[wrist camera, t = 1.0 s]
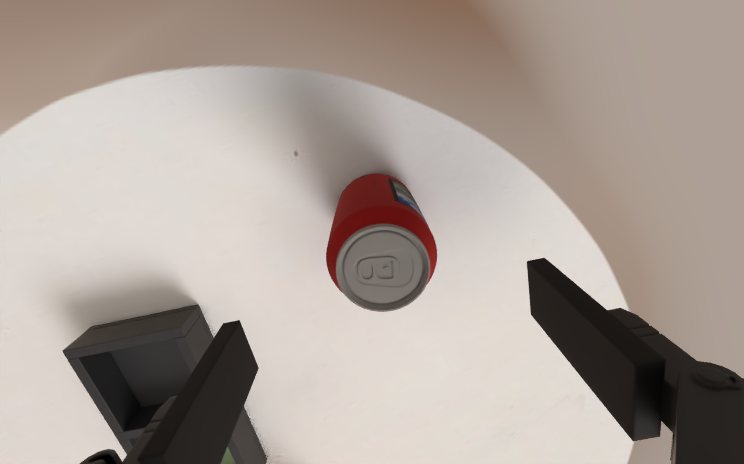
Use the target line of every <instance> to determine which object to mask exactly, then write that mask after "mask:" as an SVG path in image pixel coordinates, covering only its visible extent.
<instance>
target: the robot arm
mask: <svg viewBox="0 0 744 464" xmlns="http://www.w3.org/2000/svg"><path fill="white" fill-rule="evenodd" d="M527 269H528V282H529V295H530V308H531V315H532V316H533V318H534V319H535V320H536V321H537V322H538V324H539V325H540V326H541V327H542V329H543V330H544V331H545V332H546V334H547V335H548V336H549V337H550V339H551V340H552V341H553V342H554V344H555V345H556V346H557V347H558V349H559V350H560V351H561V352H562V354H563V355H564V356H565V357H566V359H567V360H568V361H569V362H570V364H571V365H572V366H573V367H574V368H575V370H576V371H577V372H578V373H579V375H580V376H581V377H582V378H583V380H584V381H585V382H586V383H587V385H588V386H589V387H590V388H591V390H592V391H593V392H594V393H595V395H596V396H597V397H598V398H599V400H600V401H601V402H602V403H603V405H604V406H605V407H606V408H607V409H608V411H609V412H610V413H611V414H612V416H613V417H614V418H615V419H616V421H617V422H618V423H619V424H620V426H621V427H622V428H623V429H624V431H625V432H626V433H627V434H628V436H629V437H630V438H631V439H632V441H637V440H643V439H648V438H654V437H659V436H660V430H661V421H662V422H663V423H664V424H665V425H666V426H667V427H668V428H669V429H670V430H671V431H672V432H673V438H672V449H671V464H744V379H743V378H741V377H740V376H738V375H737V374H736V373H735V372H733V371H731V370H729V369H727V368H725V367H723V366H719V365H716V364H712V363H708V362H700V361H696V360H695V359H694V358H692V357H691V356H690V355H688V354H687V353H686V352H685V351H683V350H682V349H681V348H679V347H678V346H677V345H675V344H674V343H673V342H671V341H670V340H669V339H668V338H666V337H665V336H664V335H662V334H659V332H658V331H657V330H656V329H654V328H653V327H652V326H649V324H648V323H647V322H645V321H644V320H643V319H641V318H640V317H639V316H638V315H636V314H633V313H631V312H629V311H626V310H624V309H622V308H618V309H613V310H606V309H605V308H604V307H602V306H601V305H600V304H599V303H598V302H597V301H595V300H594V299H593V298H592V297H591V296H589V295H588V294H587V293H586V292H585V291H583V290H582V289H581V288H580V287H579V286H577V285H576V284H575V283H574V282H573V281H572V280H570V279H569V278H568V277H567V276H566V275H564V274H563V273H562V272H561V271H560V270H558V269H557V268H556V267H555V266H554V265H552V264H551V263H550V262H549V261H548V260H546V259H545V258H541V259H536V260H531V261H527ZM257 371H258V365H257V363H256V360H255V358H254V355H253V353H252V350H251V348H250V345H249V343H248V340H247V338H246V335H245V333H244V330H243V328H242V325H241V323H240V320H238V321H233V322H228V323H223V325H222V326H221V328H220V329H219V331H218V333H217V334H216V336H215V337H214V339H213V340H212V342H211V344H210V345H209V347H208V348H207V350H206V351H205V353H204V355H203V356H202V358H201V359H200V361H199V362H198V364H197V365H196V367H195V369H194V370H193V372H192V373H191V375H190V376H189V378H188V380H187V381H186V383H185V384H184V386H183V387H182V389H181V391H180V392H179V394H178V395H177V396H173V397H170V398H169V399H168V400H167V401H166V402H165V403H164V404H163V405H162V406H161V407H160V408H159V409H158V410H157V412H156V413H155V414H154V416H153V417H152V419H151V420H150V424H148V425H147V426H146V428H145V429H144V431H143V434H141V435H140V437H139V438H138V440H137V441H136V443H135V444H134V446H133V447H132V449H131V450H130V452H129V453H128V455H127V456H126V458H125V459H124V461H123V462H122V461H121V459H120V458H119V456H118V454H117V453H116V452H115V450H110V449H107V450H103V451H100V452H97V453H96V454H94V455H92V456H90V457H88V458H87V459H85V460H84V461H83V462H81V463H80V464H221V462H222V459H223V457H224V454H225V452H226V449H227V447H228V444H229V442H230V439H231V437H232V434H233V432H234V429H235V427H236V424H237V422H238V419H239V416H240V414H241V411H242V409H243V406H244V404H245V401H246V399H247V396H248V394H249V391H250V389H251V386H252V384H253V381H254V379H255V376H256V374H257Z"/></svg>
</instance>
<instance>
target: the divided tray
mask: <svg viewBox="0 0 744 464" xmlns="http://www.w3.org/2000/svg"><path fill="white" fill-rule="evenodd" d="M212 340H213V336H212V334H211V332H210V330H209V327H208V325H207V323H206V321H205V318H204V316H203V314H202V312H201V309H200V307H199V305H195V306H191V307H186V308H181V309H176V310H171V311H166V312H161V313H157V314H152V315H147V316H142V317H137V318H132V319H127V320H123V321H118V322H113V323H108V324H103V325H98V326H93V327H90V328H89V329H88V330H87V331H86V332H85V333H83V334H82V335H81V336H80V337H79V338H77V339H76V340H75V341H74V342H73V343H71V344H70V345H69V346H68V347H67V348H65V349H64V350H63V353H64V355H65V356H66V358H67V359H68V361H69V363H70V365H71V366H72V368H73V369H74V371H75V372H76V374H77V376H78V377H79V379H80V380H81V382H82V384H83V385H84V387H85V388H86V390H87V392H88V393H89V395H90V396H91V398H92V399H93V401H94V403H95V404H96V406H97V407H98V409H99V411H100V412H101V414H102V415H103V417H104V419H105V420H106V422H107V423H108V425H109V426H110V428H111V430H112V431H113V433H114V434H115V436H116V438H117V439H118V441H119V442H120V444H121V446H122V447H123V449H124V450H125V452H126V454H127V455H128V453H129V452H130V450H131V449H132V447H133V446H134V444H135V443H136V441H137V440H138V438H139V437H140V435H141V434H143V431H144V429H145V428H146V426H147V425H148V424H150V420H151V419H152V417H153V416H154V414H155V413H156V412H157V410H158V409H159V408H160V407H161V406H162V405H163V404H164V403H165V402H166V401H167V400H168V399H169V398H170V397H173V396H177V395H178V394H179V392H180V391H181V389H182V387H183V386H184V384H185V383H186V381H187V380H188V378H189V376H190V375H191V373H192V372H193V370H194V369H195V367H196V365H197V364H198V362H199V361H200V359H201V358H202V356H203V355H204V353H205V351H206V350H207V348H208V347H209V345H210V344H211V342H212ZM266 461H267V458H266V456H265V453H264V451H263V449H262V447H261V444H260V442H259V440H258V438H257V435H256V433H255V431H254V429H253V426H252V424H251V422H250V420H249V417H248V415H247V413H246V411H245V408H244V406H243V409H242V411H241V414H240V416H239V419H238V422H237V424H236V427H235V429H234V432H233V434H232V437H231V439H230V442H229V444H228V447H227V449H226V452H225V454H224V457H223V459H222V462H221V464H266Z"/></svg>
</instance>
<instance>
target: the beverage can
mask: <svg viewBox="0 0 744 464" xmlns="http://www.w3.org/2000/svg"><path fill="white" fill-rule="evenodd" d="M326 261H327V267H328V271H329V274H330V276H331V278H332V280H333V282H334V283H335V285H336V286H337V287H338V288H339V290H340V291H341V292H342V293H343V294H345V296H346V297H347V298H348V299H349V300H351V301H352V302H353V303H355V304H356V305H358V306H360V307H362V308H364V309H367V310H371V311H378V312H386V311H393V310H397V309H400V308H402V307H405V306H407V305H408V304H410V303H411V302H413V301H414V300H415V299H416V298H417V297H418V296H419V295H420V294H421V293H422V292H423V290H424V289H425V287H426V285H427V284H428V282H429V281H430V279H431V277H432V275H433V273H434V270H435V266H436V261H437V249H436V244H435V240H434V237H433V235H432V233H431V231H430V229H429V227H428V225H427V223H426V221H425V219H424V217H423V215H422V213H421V211H420V209H419V207H418V205H417V203H416V202H415V200H414V198H413V196H412V195H411V193H410V191H409V190H408V189H407V187H406V186H405V185H404V184H403V183H401V182H400V181H399V180H397V179H395V178H393V177H391V176H388V175H383V174H370V175H366V176H363V177H360V178H358V179H356V180H355V181H353V182H352V183H351V184H349V185H348V186H347V188H346V189H345V190H344V191H343V193H342V195H341V197H340V199H339V202H338V206H337V209H336V212H335V216H334V220H333V224H332V228H331V232H330V237H329V242H328V246H327V252H326Z"/></svg>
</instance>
